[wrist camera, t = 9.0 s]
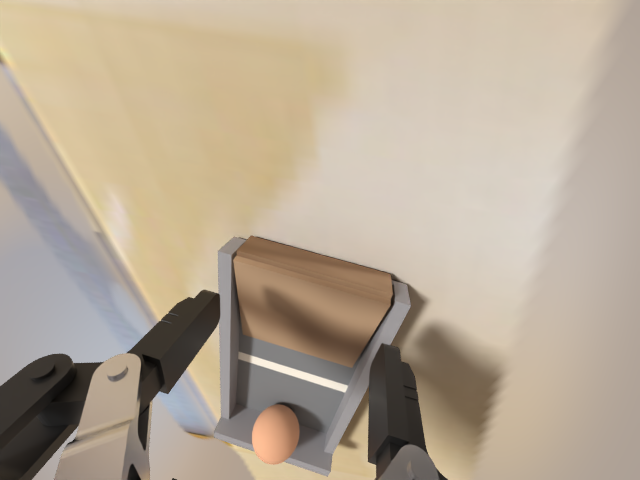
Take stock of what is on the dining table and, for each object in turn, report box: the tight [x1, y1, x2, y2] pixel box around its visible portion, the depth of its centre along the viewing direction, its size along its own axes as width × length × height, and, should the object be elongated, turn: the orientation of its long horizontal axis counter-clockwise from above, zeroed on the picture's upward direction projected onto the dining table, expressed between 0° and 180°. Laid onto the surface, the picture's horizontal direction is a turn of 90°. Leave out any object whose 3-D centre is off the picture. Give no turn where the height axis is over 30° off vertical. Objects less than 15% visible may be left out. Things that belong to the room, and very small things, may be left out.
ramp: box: [233, 236, 393, 368], centre depth 16 cm, size 9×9×3 cm
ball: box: [252, 404, 300, 464], centre depth 21 cm, size 4×4×4 cm
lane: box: [214, 237, 411, 477], centre depth 18 cm, size 20×11×3 cm, turn 169°
